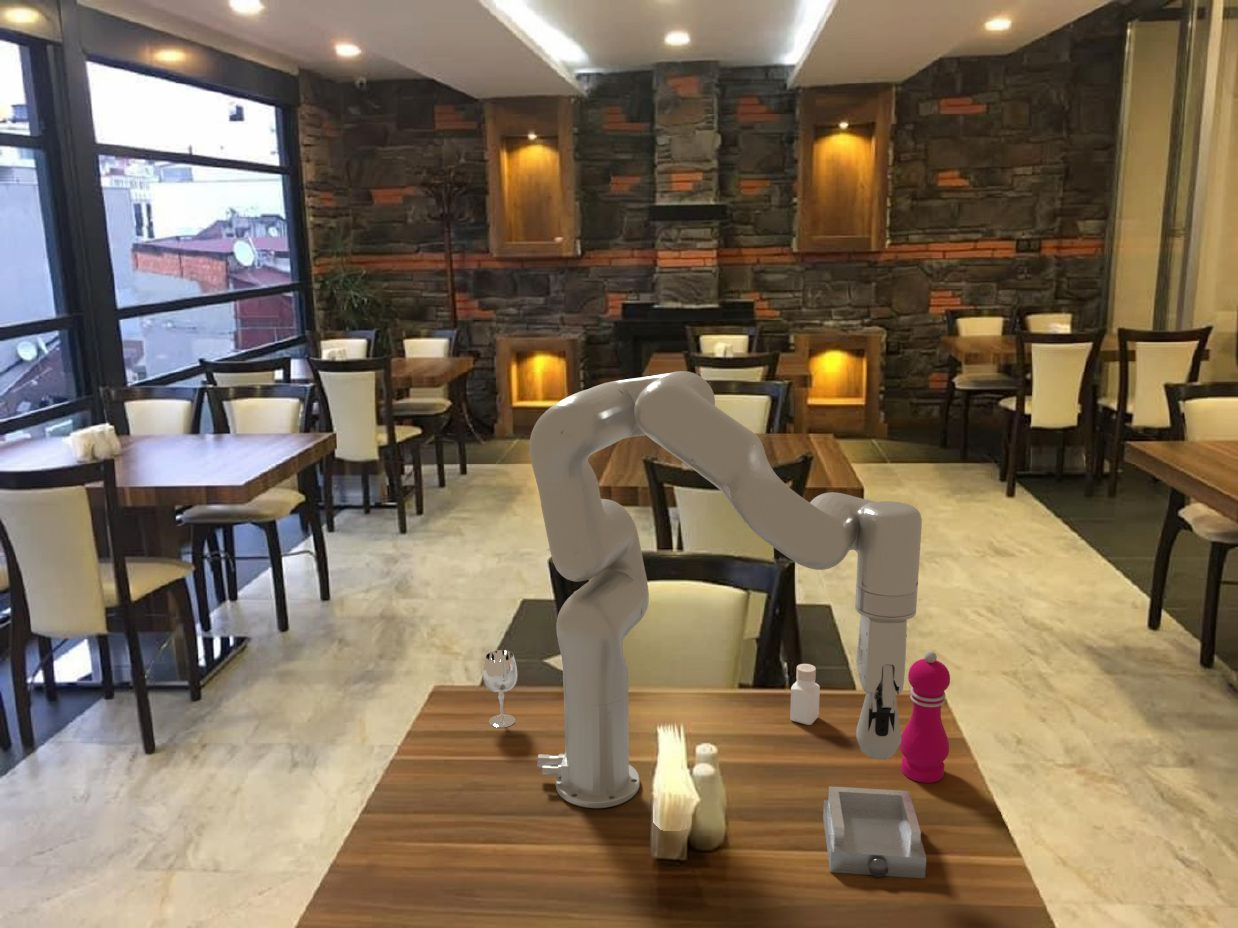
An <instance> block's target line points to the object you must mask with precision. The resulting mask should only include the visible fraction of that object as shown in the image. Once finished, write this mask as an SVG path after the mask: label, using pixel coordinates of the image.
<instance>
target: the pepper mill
mask: <svg viewBox="0 0 1238 928" xmlns="http://www.w3.org/2000/svg"><path fill="white" fill-rule="evenodd" d="M923 657H924V658H921V659H918V660H916V661H915V662H913V663H912V664H911V665H910V668H909V671H908V675H907V679H908V683H909V684H910V686H911V689H910V700H911V701H912V705H913V707H912V712H911V716H910V718H909V721H908V723H907V724H906V725H905V727H904V729H903V731H902V732H901V739H902V740H901V744H900V745H899V749H900V752H901V754H902V755H903V756H902V757H901V758H902V759H901V764H900V765H901V772H902V773H903V775H904V776H905V777H906V778H907V779H910V780H912V781H915V782H919V783H922V784H923V783H924V784H930V783H937V782H939V781H941V780H942V779H943V778H944V775H945V763H944V761H945V760H946V759H947V758H948V756H949V752H950V744H949V743H950V742H949V739H948V736H947V732H946V729H945V727H944V724H943V720H942V711H941V710H942V706H943V705H944V704H945V703H946V699H945V698H946V692H945V691H946V690H948V688H949V686H950V683H951V675H950V672H949V669H948V667H947V666H946V665H945V664H944V663H942V662H941V661H939V660H937V657H938V656H937V654H936V652H934V651H932V650H928V651H926V652H925V653H924V655H923Z"/></svg>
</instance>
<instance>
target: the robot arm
mask: <svg viewBox="0 0 1238 928" xmlns="http://www.w3.org/2000/svg"><path fill="white" fill-rule="evenodd" d="M642 436H643V437H644V436H646V437H647V438H648V439H651V440H652V441H653V442H654V443H656V444H657V445H659V446H660V447H661V448H662V449H664V450H665V451H667V452H668V453H670V455H672V456H673V457H675V458H677V459H678V460H679V461H681V462H683V463H684V464H685V465H687V466H688V467H689V468H691V470H694V471H695V472H696V473H698V474H699V475H700V476H702V477H703V478H704V479H705V480H707V481H709V482H710V483H711V484H712V485H714V486H715V487H716V488H717V489H718V490H720V492H721V493H722V495H723V496H724V498H725V499H726V501H727V502H728V504H729V505H730V506H731V507H732V508H733V510H734V511H735V512H736V513H737V515H738V517H740V518H741V520H742V521H743V522H744V523H745V524H746V525H747V526H748V527H749V529H751V531H753V532H754V533H755V535H757V536H758V537H759V538H761V539H762V540H763V541H764V542H766V543H767V544H769V545H770V547H773V549H775V550H777V551H778V552H779V553H780V554H782V555H784V556H785V557H787V558H788V559H790V560H791V561H793V562H794V563H796V564H798V565H800V566H802V567H804V568H807V569H811V570H816V571H819V570H820V571H823V570H828V569H831V568H834V567H836V566H837V565H839V564H840V563H841V562H842V561H843V560H844V559H845V558H846V557H847V555H848V554H849V552H850V551H855V552H856V553H857V563H856V565H857V566H856V584H855V600H854V601H855V602H854V603H855V604H854V609H855V611H856V613H858V614H859V615H860V619H859V627H858V628H859V629H858V638H857V640H858V641H857V650H856V651H857V652H856V668H857V673H858V679H859V681H860V685H861V688H862V690H863V691H864V693H865V694H866V693H869V692H872V706H871V709H870V708H869V720H868V732H869V729H870V726H871V723H872V719H875V732H876V734H877V735H878V736H886V735H887V734H888V729H889V717H890V722H891V725H892V728H893V732H894V721H895V691H896V695H900V694H902V693H903V691H904V683H905V672H906V659H907V656H906V655H907V636H908V635H907V634H908V633H907V632H908V631H907V629H908V620H910V619H912V618H914V617H915V616H916V614H917V603H918V601H917V600H918V589H919V588H918V587H919V571H920V570H919V569H920V560H921V559H920V557H921V556H920V555H921V542H922V527H923V526H922V525H923V521H922V520H923V519H922V514H921V512H920V511H919V510H918V509H917V508H916V507H915V506H913V505H911V504H908V503H905V502H901V501H893V500H891V501H890V500H885V501H884V500H882V501H874V500H869V499H865V498H862V497H857V496H854V495H850V494H847V493H842V492H833V491H830V492H824V493H821V494H819V495H817V496H816V497H813V499H812V500H811V501H808V500H806V499H805V498H804V497H802V496H801V495H799V494H798V493H797V492H796V491H795V490H793V489H792V488H790V487H789V486H788V484H786V483H785V482H784V481H783V480H782V479H781V478H780V477H779V476H778V475H777V474H776V472H775V471H774V469H773V467H772V466H771V464H770V462H769V460H768V458H767V454H766V451H765V447H764V445H763V442H762V441H761V439H760V438H759V436H758V435H757V434H756V433H754V432H753V431H751V430H750V429H749V428H747V427H745V425H743V424H742V423H740V422H739V421H737V420H736V419H734V418H733V417H732V416H730V415H728V414H727V413H725V412H724V411H723V410H721V409H720V408H719V407H717V406H716V399H715V394H714V391H713V388H712V386H711V385H710V384H709V383H708V382H707V380H705V378H704V377H701V376H700V375H699V374H697V373H695V372H691V371H684V370H682V371H681V370H680V371H679V370H678V371H673V372H667V373H662V374H656V375H650V376H648V375H647V376H642V377H635V378H628V379H620V380H614V381H609V382H604V383H601V384H598V385H596V386H592V387H591V388H588V389H584V390H580V391H578V392H576V393H574V394H571V395H569V396H567V397H565V398H563V399H561V400H560V401H558V402H556V403H555V404H554V405H553V404H552V406H551V407H549V408H548V409H547V410H545V412H544V413H542V415H541V416H539V418H538V419H537V421H536V422H535V424H534V426H533V428H532V431H531V434H530V439H529V446H528V447H529V448H528V449H529V450H528V451H529V458H530V462H531V467H532V471H533V474H534V477H535V478H534V479H535V481H536V486H537V489H538V495H539V499H540V507H541V512H542V516H543V523H544V526H545V531H546V536H547V542H548V547H549V552H550V555H551V556H550V557H551V559H552V562H553V564H554V567H555V569H556V571H557V572H558V574H560V575H561V576H562V577H563V578H565V579H566V580H569V581H572V582H583V581H587V580H588V582H586V583H585V584H583V585H582V586H581V587H580V588H579V589H577V590H576V591H574V592H573V593H572V594H571V595H570V596H569V597H567V599H566V600H565V601H564V603H563V605H562V606H561V608H560V610H559V612H558V615H557V619H556V623H555V625H556V637H557V641H558V646H559V650H560V651H559V652H560V657H561V663H562V681H563V684H562V685H563V710H564V712H563V713H564V716H563V717H564V748H565V750H564V753H561V752H560V753H558V755H554V754H553V755H552V754H546V753H545V754H543V753H542V754H541V753H538V755H537V762H536V763H537V767H538V768H541V769H542V770H541V774H542V775H544V776H545V775H546V776H553V775H554V776H555V789H556V791H557V793H558V795H559V797H560V798H562V799H563V800H565V801H566V802H568V803H570V804H572V805H575V806H577V807H580V808H581V807H582V808H587V809H605V808H610V807H615V806H618V805H621V804H623V803H625V802H627V801H629V800H630V799H632V798H633V797H634V796H635V795H636V794H637V793H638V791H639V788H640V786H641V785H640V775H639V773H638V771H637V769H635V767H633V766H632V765H631V764H630V746H629V745H630V744H629V743H630V740H629V739H630V738H629V735H630V733H629V732H630V728H629V725H630V723H629V721H630V720H629V717H630V715H629V714H630V712H629V672H628V666H627V661H626V657H625V654H624V648H623V644H624V639H625V637H626V636H627V635H628V634H629V633H630V632H631V630H632V629H634V628H635V626H636V625H638V623H640V621H642V619H643V617H644V616H645V615H646V613H647V610H648V606H649V600H650V592H649V585H648V578H647V573H646V569H645V564H644V559H643V558H644V556H643V553H642V548H641V542H640V538H639V532H638V528H637V526H636V523H635V521H634V519H633V517H632V515H631V514H630V513H629V512H628V510H627V509H626V508H625V507H624V506H623V505H622V504H620V503H618V502H616V501H615V500H612V499H608V498H607V499H606V498H602V497H601V491H600V486H599V485H600V484H599V481H598V478H597V474H596V473H595V471H594V469H593V467H592V466H591V464H590V463H589V458H590V456H592V455H593V454H595V453H597V452H599V451H602V450H604V449H605V448H607V447H610V446H612V445H613V444H616V443H617V442H619V441H622V440H624V439H628V438H633V437H642ZM878 685H882V687H877V686H878ZM877 694H881V695H882V697H881V698H878V700H877Z"/></svg>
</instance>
